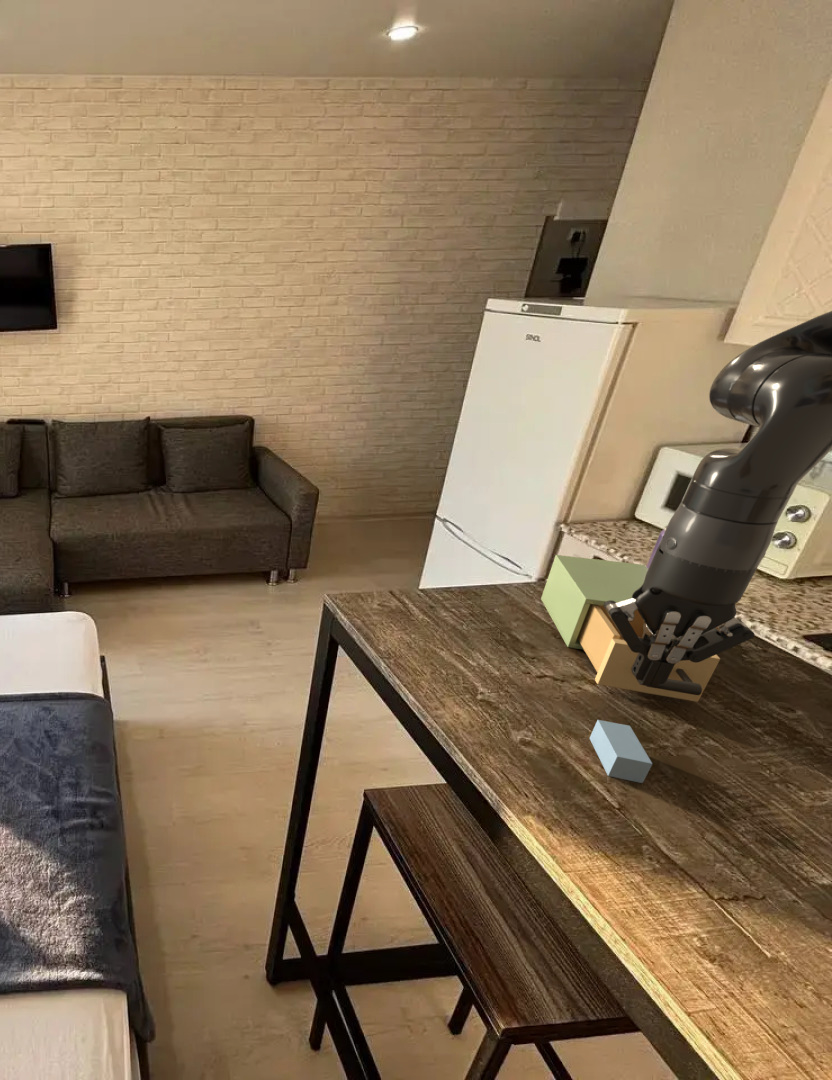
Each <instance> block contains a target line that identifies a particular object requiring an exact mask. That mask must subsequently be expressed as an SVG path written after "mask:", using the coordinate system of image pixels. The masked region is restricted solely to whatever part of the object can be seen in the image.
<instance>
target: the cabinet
mask: <svg viewBox="0 0 832 1080" xmlns="http://www.w3.org/2000/svg"><path fill="white" fill-rule="evenodd" d="M646 566H647V565H645V564H638V563H631V562H624V561H623V562H622V561H616V560H615V561H614V560H605V559H597V558H588V557H579V556H569V555H561V554H555V556H554V559H553V562H552V564H551V569H550V571H549V574H548V576H547V580H546V583H545V586H544V589H543V591H542V594H541V597H540V600H541V602H542V604H543V606H544V607H545V609H546V611H547V613H548V614H549V616H550V618H551V620H552V622H553V623H554V625H555V627H556V629H557V631H558V632H559V634H560V636H561V638H562V639H563V641H564V643H565V646H566V647H567V648H570V649H576V650H577V649H578V650H583V651H585V650H584V649H583V647H582V645H581V644H580V642H579V640H578V639H577V637H578V635H579V632H580V629H581V627H582V624H583V622H584V619H585V616H586V614H587V611H588V609H589V606H590V604H595V605H603V606H604V603H605V602H606V601H609V600H612V601H615V602H616V603H618V602H621V601H624V600H627V599H630V598H632V595H633V593H634V592H635V591H636V590H637V589H639V588H640V587H641V586H642V585H643V583H644V580H645V576H646V573H647V571H648V568H647V567H646ZM636 610H637V609H636Z"/></svg>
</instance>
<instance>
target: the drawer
mask: <svg viewBox="0 0 832 1080" xmlns="http://www.w3.org/2000/svg"><path fill="white" fill-rule="evenodd" d="M634 615H635V617H634V618H633V621H629V623H630V624H631V626H632V628H633V629H634V631H635V633H636V634H637V636H638V637H641V638H642V635H643V624H644V621H643V619H642V617H641V615H640V613H639V612H638V610H635V611H634ZM577 639H578V640H579V642H580V644H581V645H582V647H583V649H584V650H583V649H582V650H583V651H584V652H585V654H586V656H587V657H588V659H589V661H590V662H591V664H592V666H593V668H594V669H595V671H596V673H597V674H596V676H595V678H594V681H595V682H596V684H597V685H599V686H605V687H609V688H610V687H611V688H616V689H622V690H626V691H627V690H628V691H634V692H639V693H645V694H650V695H657V696H661V697H668V698H674V699H680V700H685V701H691V702H696V703H698V702H699V701H700V698H701V697H702V695H703V694H704V693H703V692H704V691H705V689H706V687H707V685H708V683H709V681H710V680H711V677H712V676H713V674H714V672H715V670H716V668H717V666H718V665H719V662H720V660H721V658H720V656H718V654H716V655H714V656H712V657H710V658H707V659H705V660H703V661H701V662H697V663H695V662H692V661H690V660H683V661H680V662H678V663H676V664H675V665H674V667H673V669H672V671H671V673H670V675H669V677H668V679H667V681H666V682H665V683H663V684H659V686H658V687H657V688H655V687H650V686H644V685H640V684H639V682H638V681H637V679H636V678H635V676H634V675H633V673H632V669H631V668H632V666H633V664H634V662H635V660H636V657H637V655H638V653H635V652H633V651H631V649H630V648H629V646H628V644H627V643H626V642H625V640H624V639H623V637H622V636H621V634H620V632H619V631H618V629H617V627H616V626H615V624H614V622H613V621H612V619H611V617H610V616H609V614H608V613H607V611H606V609H605V608H604V606H603V605H595V604H590V606H589V609H588V611H587V614H586V616H585V619H584V622H583V624H582V627H581V629H580V632H579V635H578V637H577Z"/></svg>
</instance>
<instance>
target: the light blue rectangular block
mask: <svg viewBox="0 0 832 1080" xmlns="http://www.w3.org/2000/svg"><path fill="white" fill-rule="evenodd" d="M589 740H590V742H591V744H592V747H593V748H594V751H595V753H596V755H597V757H598V758H599V760H600V763H601V765H602V767H603V769H604V771H605V772H606V775H607V776H608V777H611V778H615V779H621V780H624V781H628V782H629V781H631V782H635V783H639V784H643V783H644V781H645V780H646V777H647V776H648V774H649V771H650V770H651V768H652V766H653V762H652V760H651V759H650V757H649V756H648V754H647V752H646V750H645V748H644V746H643V745H642V744H641V742H640V740H639V738H638V737H637V735H636V733H635V732H634V730H633V729H632V727H631V725H629V724H628V725H627V724H623V723H617V722H612V721H611V722H610V721H608V720H607V721H606V720H601V719H597V720H596V722H595V724H594V727H593V729H592V732H591V734H590V736H589Z"/></svg>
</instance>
